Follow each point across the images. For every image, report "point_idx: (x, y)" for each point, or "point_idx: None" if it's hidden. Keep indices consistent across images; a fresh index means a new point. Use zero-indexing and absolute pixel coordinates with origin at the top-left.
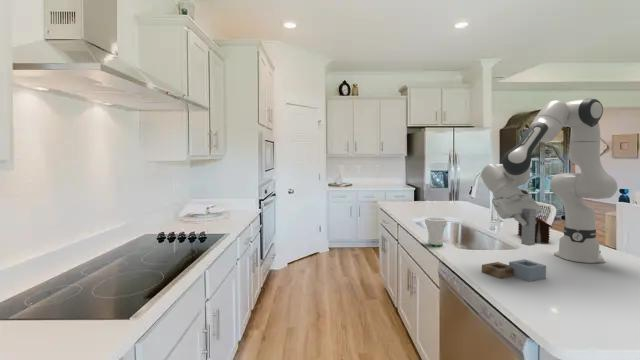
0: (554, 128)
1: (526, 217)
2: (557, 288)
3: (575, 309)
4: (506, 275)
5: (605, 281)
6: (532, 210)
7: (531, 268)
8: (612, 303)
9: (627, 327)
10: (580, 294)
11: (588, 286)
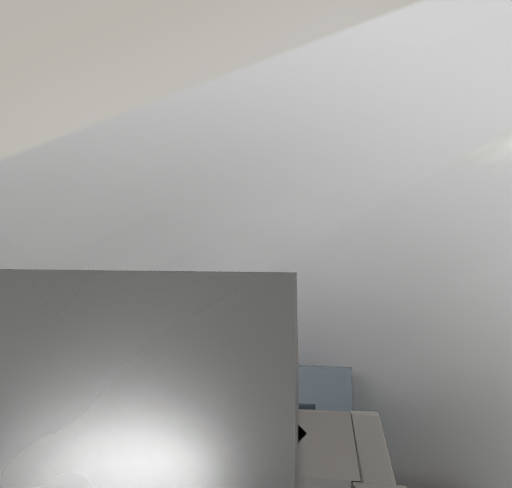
0: None
1: (297, 461)
2: (304, 258)
3: (447, 114)
4: None
5: (25, 226)
6: (139, 289)
7: (337, 367)
8: (271, 102)
9: (419, 12)
10: (284, 183)
11: (156, 220)
